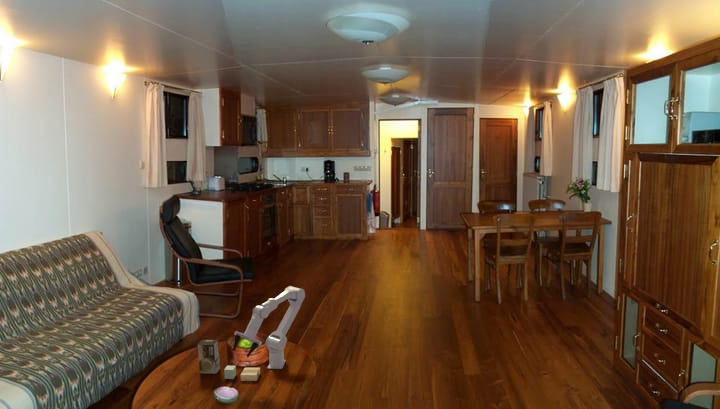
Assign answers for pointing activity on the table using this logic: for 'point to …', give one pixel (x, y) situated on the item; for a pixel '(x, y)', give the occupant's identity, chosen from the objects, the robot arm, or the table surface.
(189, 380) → the table surface
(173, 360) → the table surface
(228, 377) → the pale grey cube
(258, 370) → the birch block
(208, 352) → the coffee box
